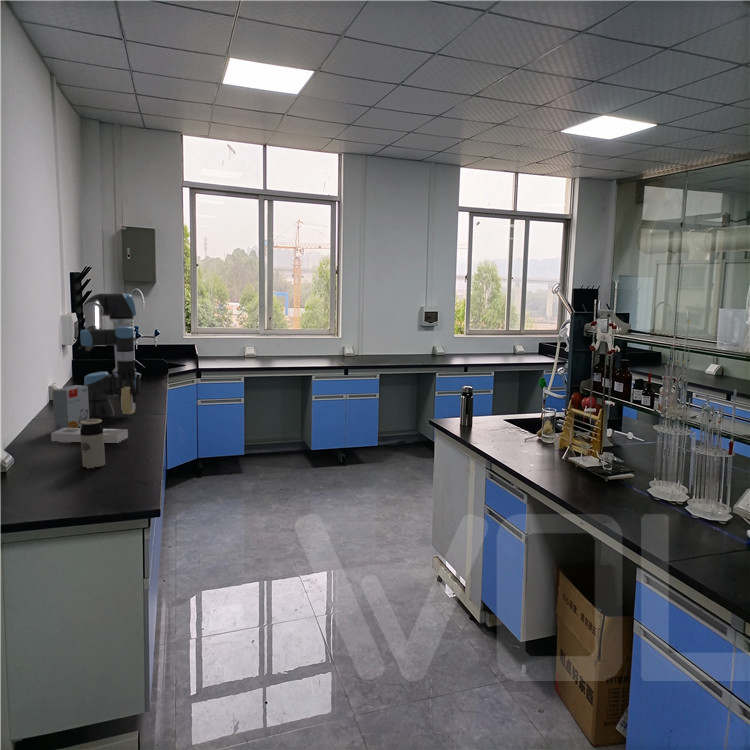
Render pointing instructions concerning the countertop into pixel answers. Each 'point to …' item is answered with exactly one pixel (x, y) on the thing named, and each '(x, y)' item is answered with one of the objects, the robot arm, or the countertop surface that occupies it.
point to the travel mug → (92, 443)
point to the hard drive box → (70, 406)
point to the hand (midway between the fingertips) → (128, 409)
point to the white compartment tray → (75, 436)
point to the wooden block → (126, 400)
